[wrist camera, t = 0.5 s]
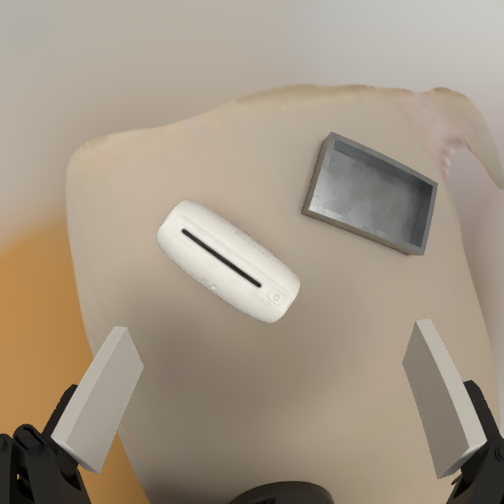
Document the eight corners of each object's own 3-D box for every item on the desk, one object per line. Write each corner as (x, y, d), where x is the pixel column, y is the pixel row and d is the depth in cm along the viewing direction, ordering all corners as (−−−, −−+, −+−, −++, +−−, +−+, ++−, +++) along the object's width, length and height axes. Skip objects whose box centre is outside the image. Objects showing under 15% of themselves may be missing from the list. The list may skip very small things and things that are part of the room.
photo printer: (284, 271, 30) (320, 283, 17) (258, 306, 30) (277, 343, 17) (198, 209, 29) (176, 179, 17) (173, 244, 29) (133, 240, 17)
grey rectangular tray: (408, 255, 31) (423, 255, 28) (301, 213, 30) (309, 209, 27) (423, 188, 31) (437, 183, 28) (322, 141, 30) (331, 131, 27)
